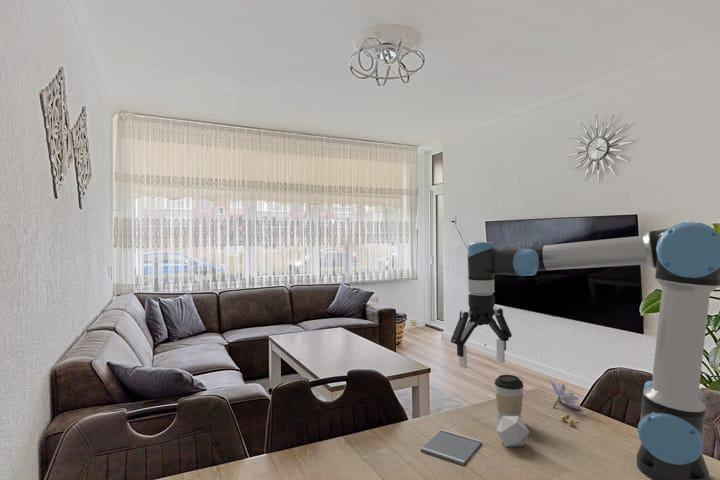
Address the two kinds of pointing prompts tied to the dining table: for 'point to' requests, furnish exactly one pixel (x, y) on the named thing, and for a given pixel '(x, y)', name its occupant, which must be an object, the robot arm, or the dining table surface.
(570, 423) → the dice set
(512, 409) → the coffee cup
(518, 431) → the die
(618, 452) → the dining table surface
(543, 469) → the dining table surface
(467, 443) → the coaster
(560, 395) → the water lily
